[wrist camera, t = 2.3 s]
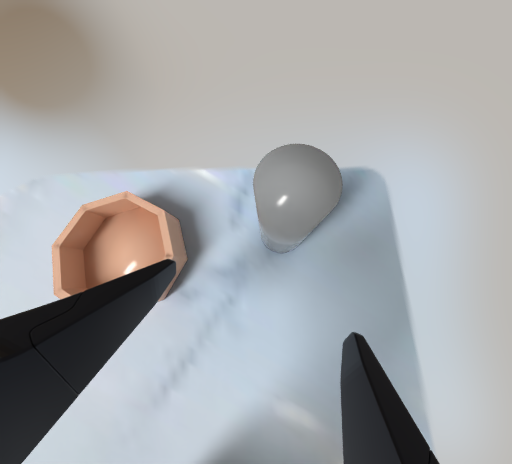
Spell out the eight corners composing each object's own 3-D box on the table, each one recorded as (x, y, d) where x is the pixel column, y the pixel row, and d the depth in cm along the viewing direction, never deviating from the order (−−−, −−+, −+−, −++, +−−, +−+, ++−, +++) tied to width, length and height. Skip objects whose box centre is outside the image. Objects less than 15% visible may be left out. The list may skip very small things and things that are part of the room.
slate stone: (308, 245, 22) (357, 207, 10) (268, 258, 22) (269, 236, 10) (293, 207, 23) (321, 133, 11) (255, 220, 23) (242, 158, 11)
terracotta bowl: (194, 289, 22) (181, 292, 18) (89, 324, 21) (55, 333, 18) (173, 194, 25) (158, 181, 21) (80, 223, 24) (50, 214, 21)
